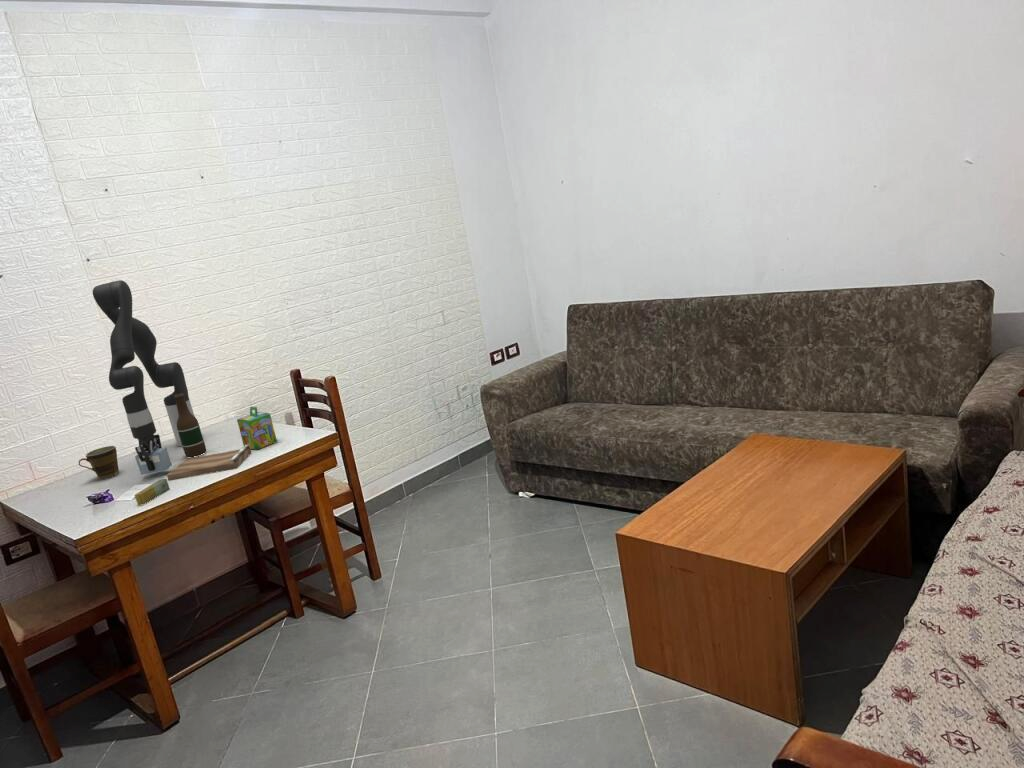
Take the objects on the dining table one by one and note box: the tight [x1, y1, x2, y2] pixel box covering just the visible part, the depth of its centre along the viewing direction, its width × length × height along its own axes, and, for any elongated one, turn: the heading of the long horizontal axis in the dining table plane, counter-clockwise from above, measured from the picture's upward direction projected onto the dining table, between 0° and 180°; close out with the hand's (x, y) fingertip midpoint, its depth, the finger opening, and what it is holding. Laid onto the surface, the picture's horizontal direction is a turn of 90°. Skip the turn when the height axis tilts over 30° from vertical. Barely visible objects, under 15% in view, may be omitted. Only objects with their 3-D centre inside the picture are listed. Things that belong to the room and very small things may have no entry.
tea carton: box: [134, 447, 173, 476], centre depth 259 cm, size 5×9×7 cm, turn 91°
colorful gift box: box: [236, 406, 278, 451], centre depth 272 cm, size 9×9×15 cm
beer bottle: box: [174, 393, 207, 458], centre depth 275 cm, size 8×8×24 cm
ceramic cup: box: [78, 445, 120, 480], centre depth 268 cm, size 13×10×10 cm
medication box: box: [134, 478, 171, 506], centre depth 236 cm, size 12×3×4 cm, turn 164°
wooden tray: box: [166, 445, 252, 481], centre depth 258 cm, size 16×24×3 cm, turn 91°
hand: (155, 467), depth 260 cm, fingers closed on tea carton, 5 cm apart
